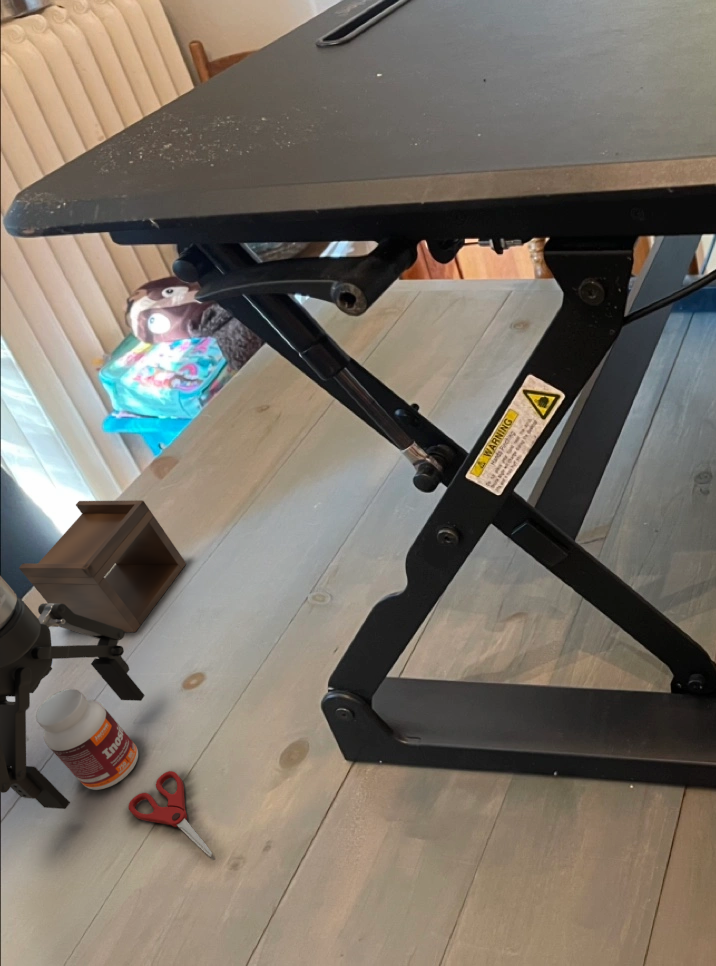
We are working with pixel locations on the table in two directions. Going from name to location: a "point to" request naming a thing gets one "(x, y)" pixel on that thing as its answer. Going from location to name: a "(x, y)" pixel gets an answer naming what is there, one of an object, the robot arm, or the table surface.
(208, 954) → the table surface
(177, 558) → the shelf
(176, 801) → the scissors
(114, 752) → the pill bottle
